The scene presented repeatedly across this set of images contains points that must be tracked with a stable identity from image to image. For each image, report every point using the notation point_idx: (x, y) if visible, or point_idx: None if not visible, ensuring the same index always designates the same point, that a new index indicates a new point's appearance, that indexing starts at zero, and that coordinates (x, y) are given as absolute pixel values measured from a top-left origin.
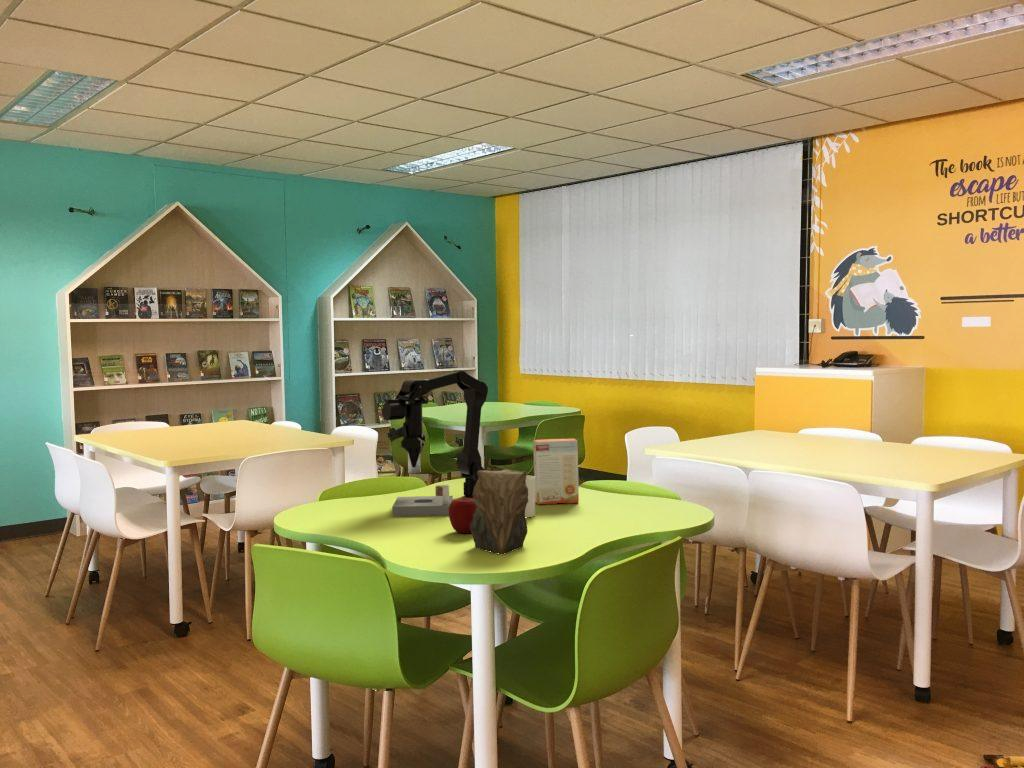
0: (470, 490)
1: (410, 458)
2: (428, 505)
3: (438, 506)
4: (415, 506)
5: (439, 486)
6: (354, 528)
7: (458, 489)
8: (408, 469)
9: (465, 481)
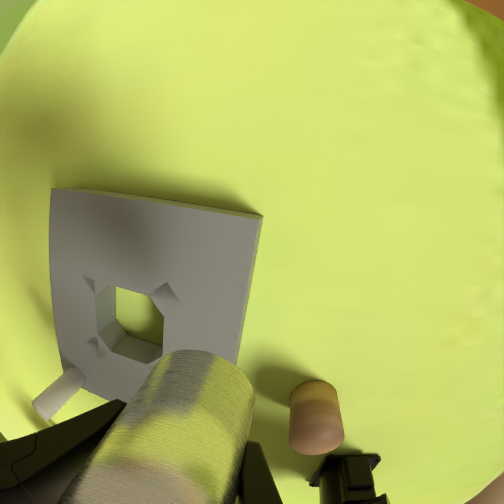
0: (328, 480)
1: (46, 432)
2: (60, 321)
3: (60, 347)
4: (51, 276)
5: (314, 434)
6: (7, 101)
7: (461, 432)
8: (171, 366)
9: (344, 495)
